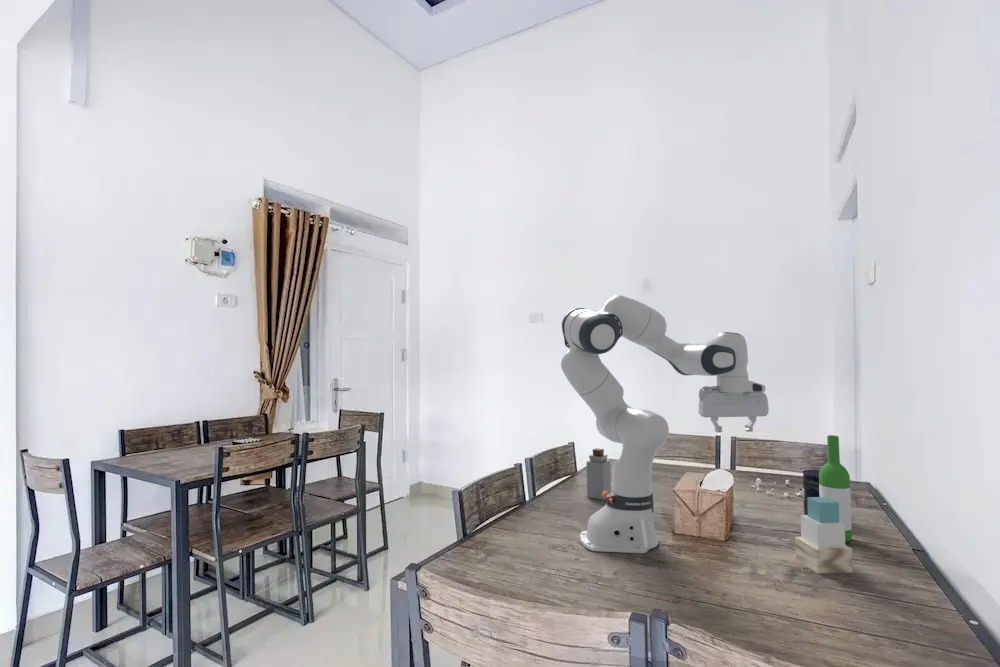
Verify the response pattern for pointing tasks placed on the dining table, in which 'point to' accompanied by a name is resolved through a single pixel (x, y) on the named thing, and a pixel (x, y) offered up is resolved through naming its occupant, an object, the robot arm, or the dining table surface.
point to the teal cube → (823, 509)
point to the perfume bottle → (598, 474)
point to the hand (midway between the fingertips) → (733, 431)
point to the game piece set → (773, 488)
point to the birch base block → (824, 557)
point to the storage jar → (810, 486)
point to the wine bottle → (836, 484)
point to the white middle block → (823, 533)
